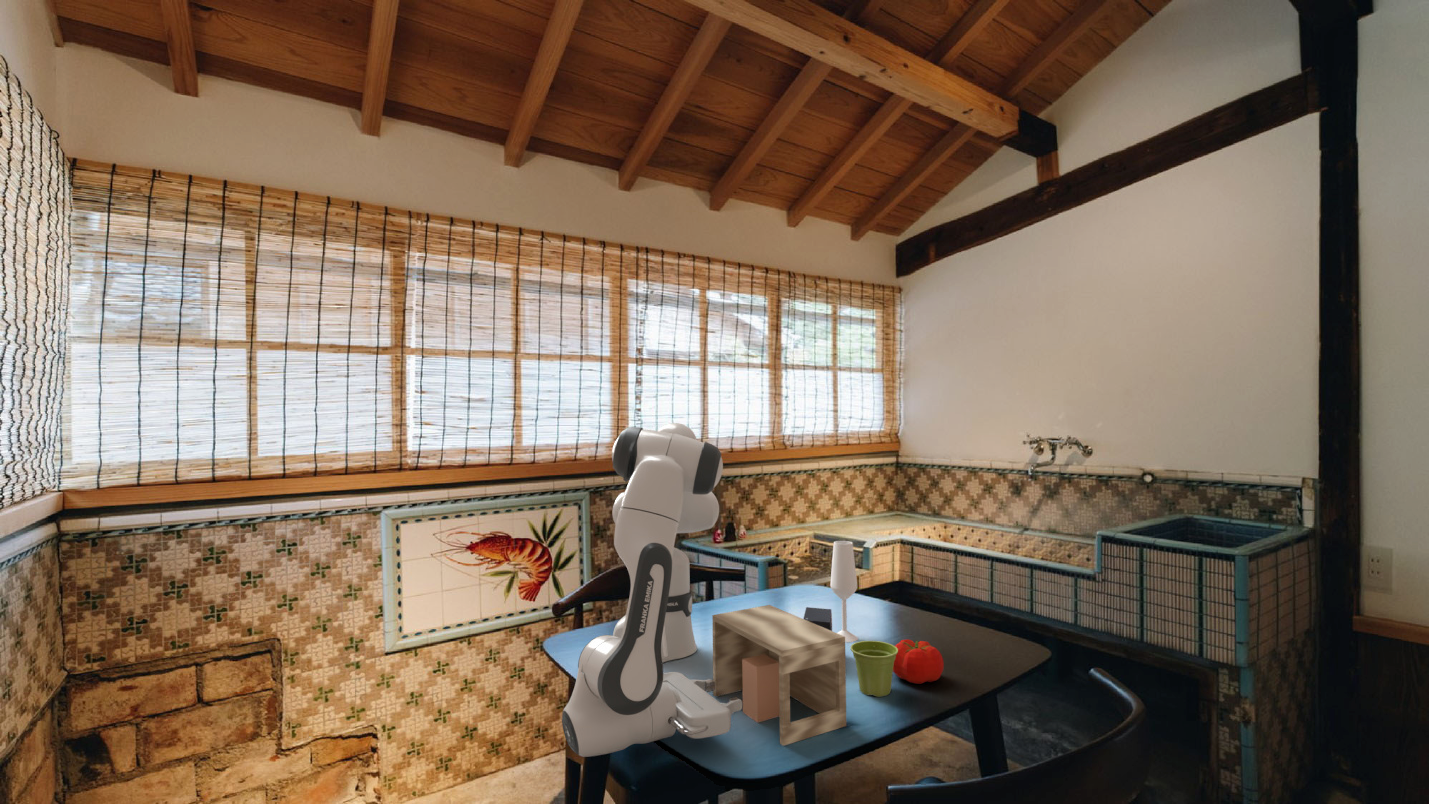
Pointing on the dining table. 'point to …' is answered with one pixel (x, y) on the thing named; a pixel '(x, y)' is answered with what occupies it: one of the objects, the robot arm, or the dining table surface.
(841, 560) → the champagne flute
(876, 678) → the plant pot
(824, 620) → the small box
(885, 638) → the dining table surface
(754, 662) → the terracotta block
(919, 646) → the tomato
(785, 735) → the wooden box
